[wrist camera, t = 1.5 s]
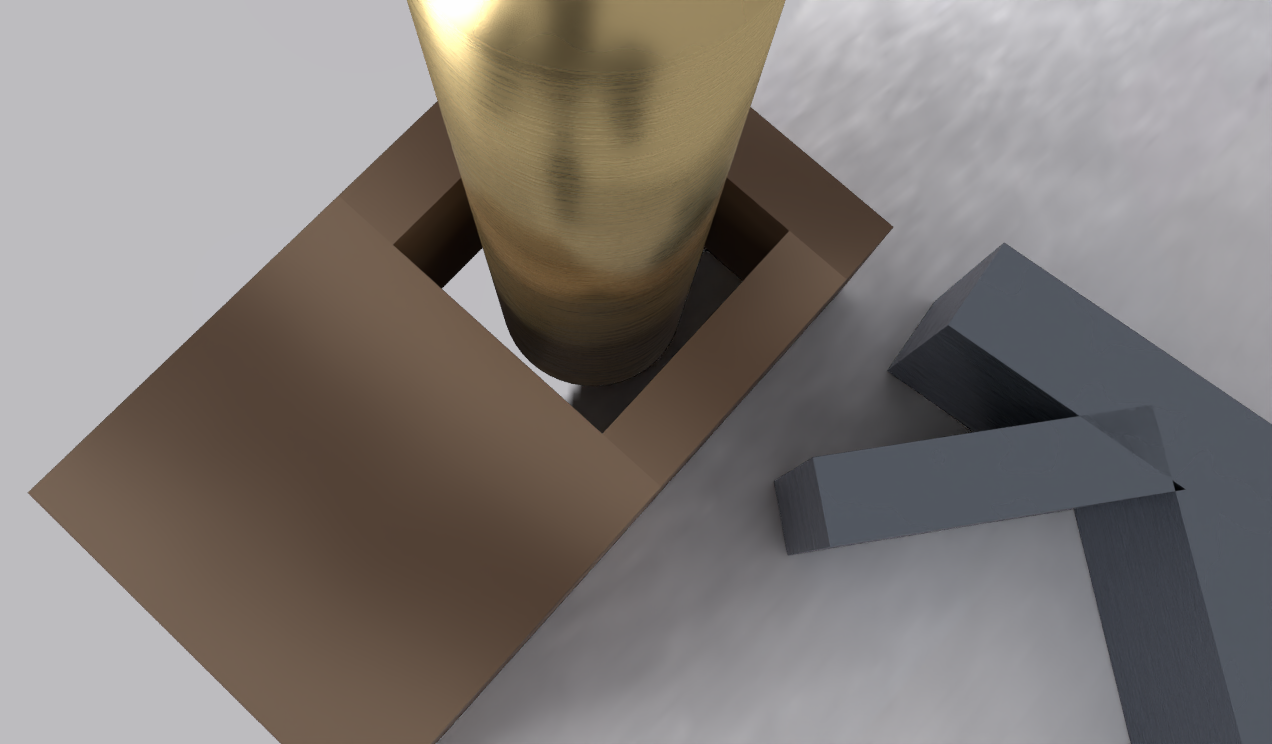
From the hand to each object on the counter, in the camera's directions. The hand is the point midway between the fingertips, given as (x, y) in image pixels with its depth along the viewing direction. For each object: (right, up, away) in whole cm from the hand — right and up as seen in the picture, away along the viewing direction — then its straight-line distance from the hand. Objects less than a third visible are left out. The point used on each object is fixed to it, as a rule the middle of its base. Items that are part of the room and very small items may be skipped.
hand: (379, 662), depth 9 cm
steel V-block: (+11, -2, +14) cm, 18 cm away
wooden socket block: (-1, +2, +14) cm, 14 cm away
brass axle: (+1, +4, +15) cm, 15 cm away
